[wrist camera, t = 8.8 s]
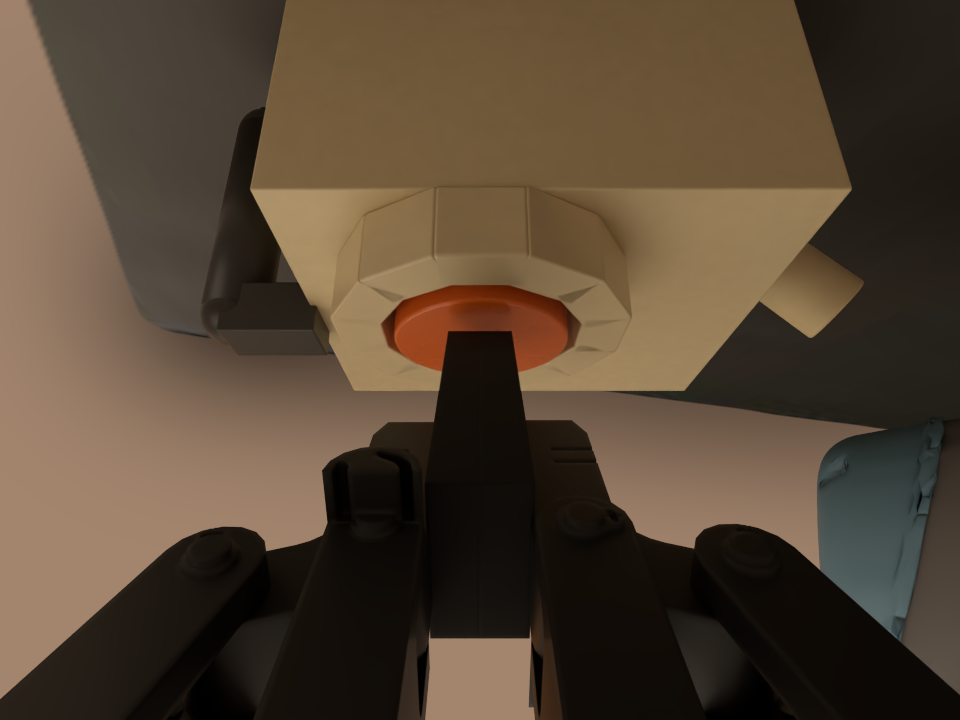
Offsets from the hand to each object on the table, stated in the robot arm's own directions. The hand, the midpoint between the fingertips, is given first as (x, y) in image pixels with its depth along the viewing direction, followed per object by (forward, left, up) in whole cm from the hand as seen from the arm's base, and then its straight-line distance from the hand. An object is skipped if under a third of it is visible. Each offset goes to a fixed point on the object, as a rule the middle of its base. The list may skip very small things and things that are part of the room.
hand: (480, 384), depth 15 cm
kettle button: (0, 0, -3) cm, 3 cm away
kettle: (-3, +1, -13) cm, 14 cm away
